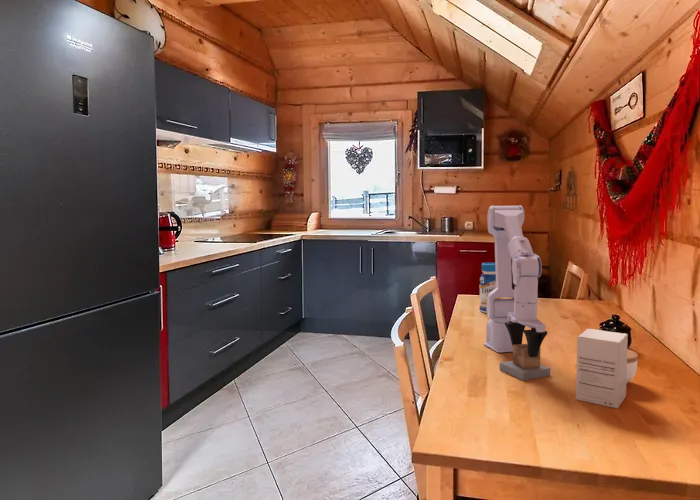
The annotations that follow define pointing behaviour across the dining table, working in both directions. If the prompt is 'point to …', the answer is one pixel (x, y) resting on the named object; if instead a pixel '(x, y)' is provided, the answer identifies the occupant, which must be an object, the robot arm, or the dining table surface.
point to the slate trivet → (524, 371)
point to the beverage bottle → (487, 284)
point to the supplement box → (601, 367)
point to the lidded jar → (631, 364)
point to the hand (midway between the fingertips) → (524, 352)
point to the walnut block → (524, 357)
